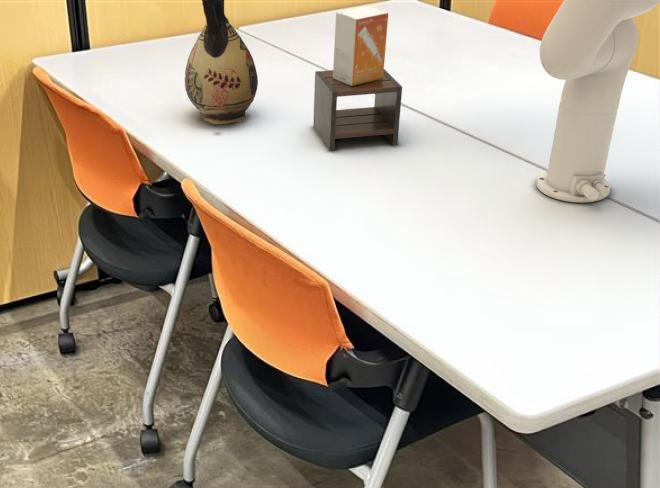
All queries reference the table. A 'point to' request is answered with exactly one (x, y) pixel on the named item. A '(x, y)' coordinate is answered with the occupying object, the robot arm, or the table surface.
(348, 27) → the small box
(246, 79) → the ceramic jug
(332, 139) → the rack
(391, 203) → the table surface
